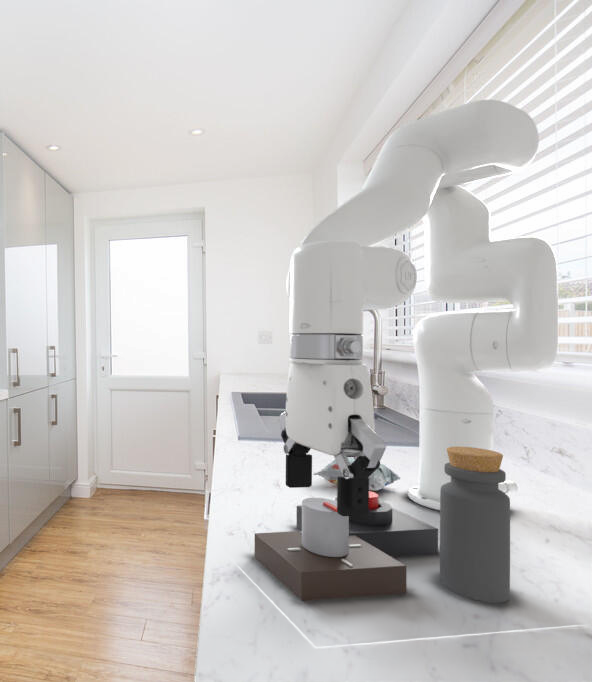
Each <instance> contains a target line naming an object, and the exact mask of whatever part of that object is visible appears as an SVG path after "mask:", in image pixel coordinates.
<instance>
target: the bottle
mask: <svg viewBox="0 0 592 682" xmlns="http://www.w3.org/2000/svg"><path fill="white" fill-rule="evenodd" d="M447 453H448V457H449V461H450V463H446V464H445V467H444V470H445V473H446V474H447V475H449V476H451V482H449V483H446V484H444V485H442V486H441V490H440V511H439V581H440V583H441V584H442V586H444V587H445V589H448V590H449V591H451V592H453V593H454V594H457V595H460V596H462V597H464V598H467V599H471V600H475V601H478V602H482V603H483V602H484V603H489V604H501V603H506V602H508V601H509V599H510V594H511V593H510V592H511V498H510V497H509V495H507V493H504V492H502V491H501V490H499V489H498V483H502V482H505V481H507V480H506V477H507V475H506V474H507V473H506V472H505V471H504V470H502V469H501V465H502V462H503V458H504V454H502V453H501V452H498V451H494V450H493V451H491V450H486V449H480V448H473V447H449V448H447Z"/></svg>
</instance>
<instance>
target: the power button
mask: <svg viewBox="0 0 592 682" xmlns="http://www.w3.org/2000/svg"><path fill="white" fill-rule="evenodd" d="M379 500H380V497H379V494H378V493H377V492H374V491H370V490H369V509H378V508H379Z"/></svg>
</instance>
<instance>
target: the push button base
mask: <svg viewBox="0 0 592 682" xmlns="http://www.w3.org/2000/svg"><path fill="white" fill-rule="evenodd" d="M334 500H335V501H337V497H335V498H334ZM296 528H297V530H298V531H302V505H296ZM349 535H355V536H357V537H358V538H360V539H362V540H364V541H365V542H367V543H369V544H370V545H372V546H374V547H375V548H377V549H379V550H380V551H382V552H384V553H386V554H387V555H389V556H391V557H404V556H406V557H407V556H423V555H437V554H439V528H437V527H435V526H433V525H431V524H428V523H426V522H424V521H421V520H419V519H417V518H416V517H413V516H411V515H409V514H406V513H405V512H402V511H400V510H398V509H395V508H394V507H392V506H391V505H390V503H388V502H385V501H383V500H381V499H379V508H378V509H369V513H368V515H366V516H349Z"/></svg>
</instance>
